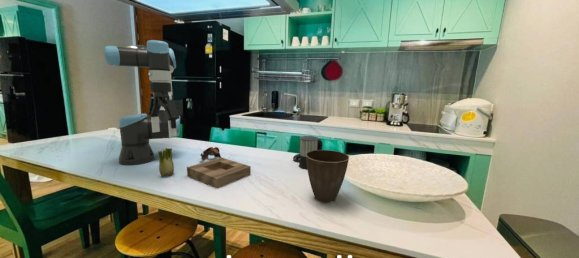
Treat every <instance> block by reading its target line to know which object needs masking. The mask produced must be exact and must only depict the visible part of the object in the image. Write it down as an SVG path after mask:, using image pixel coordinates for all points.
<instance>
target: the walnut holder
mask: <svg viewBox="0 0 579 258" xmlns="http://www.w3.org/2000/svg"><path fill="white" fill-rule="evenodd" d="M251 169H252V167H251V165H248V164H244V163H241V162H238V161H234V160H231V159H228V158H224V157H222V156H221V158H219V157H216V158H214V159H211V160H206V161H204V162H200V163H197V164H193V165H190V166H186V174H187V175H186V176H187V177H188V178H191V179H194V180H196V181H198V182H200V183H203V184H206V185H208V186H210V187H213V188H214V189H220V188H222V187H225V186H226V185H229V184H232V183H235V182H236V181H239V180H241V179H243V178H246V177H249V176H251Z"/></svg>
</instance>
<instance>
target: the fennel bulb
mask: <svg viewBox="0 0 579 258" xmlns="http://www.w3.org/2000/svg"><path fill="white" fill-rule="evenodd" d="M172 151H173V148H172V147H170V148H169V147H168V148H167V147H166V148H165V149H162V150H158V152H157V153H158V160H159V161H158V162H159V163H158V164H159V165H158V168H159V174H160V176H161V177H166V178H167V177H171V176H173V175H174V173H175V164H174V160H173V155H172Z"/></svg>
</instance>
